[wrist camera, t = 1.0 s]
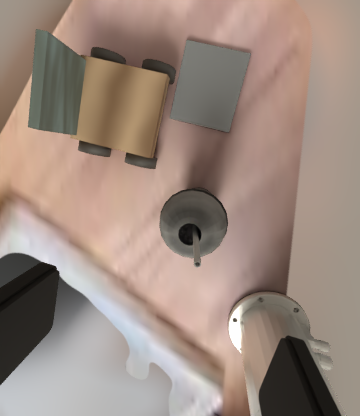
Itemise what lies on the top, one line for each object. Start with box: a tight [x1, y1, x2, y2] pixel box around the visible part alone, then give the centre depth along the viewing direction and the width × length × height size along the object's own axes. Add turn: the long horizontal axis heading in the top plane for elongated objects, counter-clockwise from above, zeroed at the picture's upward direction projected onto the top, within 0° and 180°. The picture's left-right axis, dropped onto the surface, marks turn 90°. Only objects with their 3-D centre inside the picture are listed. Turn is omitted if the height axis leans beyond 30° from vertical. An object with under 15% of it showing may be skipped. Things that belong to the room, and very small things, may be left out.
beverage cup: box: [160, 188, 228, 267], centre depth 27 cm, size 7×7×20 cm
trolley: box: [28, 29, 176, 169], centre depth 29 cm, size 12×13×12 cm
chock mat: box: [170, 40, 251, 133], centre depth 33 cm, size 9×10×1 cm
